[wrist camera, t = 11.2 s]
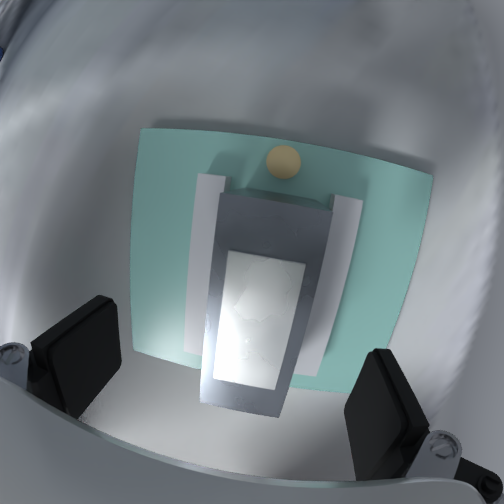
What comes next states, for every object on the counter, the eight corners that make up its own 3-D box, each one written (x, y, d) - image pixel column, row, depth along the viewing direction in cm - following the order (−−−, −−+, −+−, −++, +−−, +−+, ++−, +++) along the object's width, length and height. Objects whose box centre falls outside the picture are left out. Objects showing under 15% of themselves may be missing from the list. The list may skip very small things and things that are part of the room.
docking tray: (362, 386, 19) (370, 416, 16) (138, 343, 21) (118, 367, 17) (426, 175, 15) (454, 176, 11) (148, 130, 16) (119, 122, 13)
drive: (283, 352, 18) (278, 419, 12) (224, 341, 18) (198, 403, 12) (316, 199, 15) (333, 212, 9) (245, 187, 16) (219, 192, 10)
